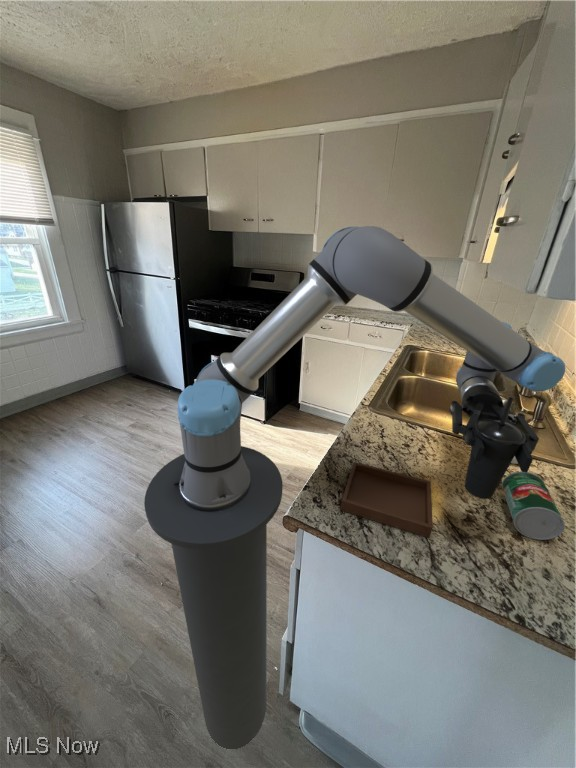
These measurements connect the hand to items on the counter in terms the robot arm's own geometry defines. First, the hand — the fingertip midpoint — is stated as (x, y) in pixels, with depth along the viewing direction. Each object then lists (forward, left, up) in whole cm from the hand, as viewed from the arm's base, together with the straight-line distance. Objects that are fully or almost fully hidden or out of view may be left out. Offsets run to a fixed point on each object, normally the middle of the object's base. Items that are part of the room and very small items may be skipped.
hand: (502, 459), depth 51 cm
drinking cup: (0, +5, -11) cm, 12 cm away
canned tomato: (+12, +17, -16) cm, 26 cm away
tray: (-16, +5, -20) cm, 26 cm away
